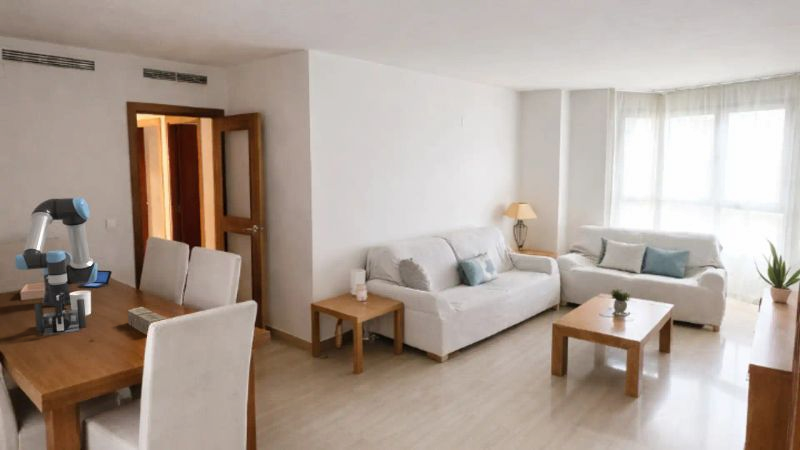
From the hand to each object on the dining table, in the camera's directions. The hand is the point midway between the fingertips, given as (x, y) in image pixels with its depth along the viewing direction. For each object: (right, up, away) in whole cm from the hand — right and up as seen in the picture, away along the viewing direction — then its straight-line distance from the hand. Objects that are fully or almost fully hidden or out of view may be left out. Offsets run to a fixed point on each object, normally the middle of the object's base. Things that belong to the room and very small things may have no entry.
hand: (61, 327), depth 245 cm
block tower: (+39, -2, +3) cm, 40 cm away
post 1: (-8, -2, -3) cm, 9 cm away
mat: (0, -2, +1) cm, 2 cm away
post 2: (+7, -1, +5) cm, 9 cm away
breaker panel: (-5, 0, +10) cm, 11 cm away
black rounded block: (0, -1, +1) cm, 2 cm away
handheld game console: (-39, +9, +92) cm, 100 cm away
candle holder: (-7, +1, +27) cm, 28 cm away
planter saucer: (-58, +7, +70) cm, 91 cm away
